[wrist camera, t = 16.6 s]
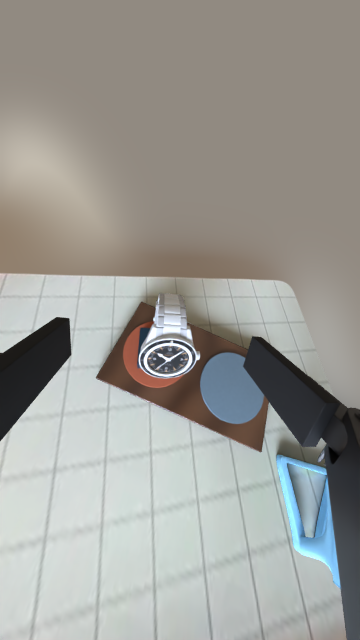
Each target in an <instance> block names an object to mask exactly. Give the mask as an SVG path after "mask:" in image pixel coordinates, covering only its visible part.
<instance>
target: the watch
mask: <svg viewBox="0 0 360 640" xmlns="http://www.w3.org/2000/svg"><path fill="white" fill-rule="evenodd" d="M153 321H154V324H153V325H152V326H151V328H140V334H139V346H138V358H137V368H141V369H143V370H144V372H146V373H147V374H149V375H151V376H154V377H158V378H174V377H178V376H181V375H183V374H185V373H186V372H188V371H189V370H190V369H192V368H193V366H194V365H195V363H196V360H199V359H200V352H199V351H196V350H195V348H194V344H193V339H192V334H191V329H190V326H187V320H186V307H185V302H184V298H183V297H182V296H181V295H176V294H166V293H159V298H158V300H157V301H156V310H155V317H154V318H153Z"/></svg>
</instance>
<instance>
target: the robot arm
mask: <svg viewBox="0 0 360 640" xmlns="http://www.w3.org/2000/svg"><path fill="white" fill-rule="evenodd" d="M70 356H71V341H70V321H69V318H60V317H56V318H55V319H53V320H52V321H50V322H49V323H47V324H46V325H44V326H43V327H41V328H40V329H38V330H37V331H35V332H34V333H32V334H31V335H29V336H28V337H26V338H25V339H23V340H22V341H20V342H19V343H17V344H16V345H14V346H13V347H11V348H10V349H8V350H7V351H5V352H4V353H0V441H1V440H2V439H3V437H4V436H5V435H6V434H7V432H8V431H9V430H10V429H11V428H12V426H13V425H14V424H15V423H16V422H17V420H18V419H19V418H20V417H21V415H22V414H23V413H24V412H25V411H26V409H27V408H28V407H29V406H30V404H31V403H32V402H33V401H34V400H35V398H36V397H37V396H38V395H39V393H40V392H41V391H42V390H43V389H44V387H45V386H46V385H47V384H48V382H49V381H50V380H51V379H52V378H53V376H54V375H55V374H56V373H57V371H58V370H59V369H60V368H61V367H62V365H63V364H64V363H65V362H66V361H67V359H68V358H69V357H70ZM243 367H244V369H245V370H246V371H247V373H248V374H249V375H250V377H251V378H252V379H253V381H254V382H255V384H256V385H257V386H258V388H259V389H260V390H261V392H262V393H263V394H264V396H265V397H266V398H267V400H268V401H269V402H270V404H271V405H272V407H273V408H274V409H275V411H276V412H277V413H278V415H279V416H280V417H281V419H282V420H283V421H284V423H285V424H286V425H287V427H288V428H289V430H290V431H291V432H292V434H293V435H294V436H295V438H296V439H297V440H298V442H299V443H300V444H301V446H302V447H316V445H317V444H318V442H319V440H320V438H322V439H323V440H324V441H325V442H326V443H327V444H326V446H325V447H324V449H323V451H322V452H321V454H320V456H319V457H318V460H317V461H318V462H321V460H322V459H325V464H324V465H325V466H326V472H327V481H328V489H329V497H330V505H331V513H332V522H333V530H334V538H335V546H336V554H337V563H338V571H339V579H340V587H341V596H342V604H343V612H344V620H345V628H346V637H347V640H360V410H359V409H356V408H347V407H346V406H344V405H343V404H342V403H341V402H340V401H339V400H337V399H336V398H335V397H334V396H332V395H331V394H330V393H329V392H328V391H326V390H324V388H323V387H322V386H320V385H318V383H317V382H316V381H314V380H313V379H312V378H311V377H309V376H307V375H306V374H305V373H304V372H303V371H301V370H300V369H299V368H298V367H297V366H295V365H294V364H293V363H292V362H291V361H289V360H288V359H287V358H286V357H285V356H283V355H282V354H281V353H280V352H279V351H277V350H276V349H275V348H274V347H273V346H271V345H270V344H269V343H268V342H267V341H265V340H264V339H263V338H262V337H254V336H252V340H251V343H250V346H249V349H248V352H247V355H246V358H245V361H244V364H243Z"/></svg>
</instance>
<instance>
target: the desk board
mask: <svg viewBox="0 0 360 640" xmlns="http://www.w3.org/2000/svg"><path fill="white" fill-rule="evenodd" d="M155 310H156V308H154V307H152V306H150V305H148V304H146V303H143V302H141V303H140V305H139V307H138V308H137V310H136V312H135V313H134V315H133V317H132V318H131V320H130V322H129V323H128V325H127V327H126V328H125V330H124V332H123V333H122V335H121V337H120V338H119V340H118V342H117V343H116V345H115V347H114V348H113V350H112V352H111V353H110V355H109V357H108V358H107V360H106V362H105V363H104V365H103V367H102V368H101V370H100V372H99V373H98V375H97V377H96V379H98V380H101V381H103V382H105V383H107V384H109V385H112V386H114V387H116V388H118V389H121V390H123V391H125V392H127V393H129V394H132V395H134V396H136V397H138V398H141V399H143V400H145V401H147V402H149V403H152V404H154V405H156V406H158V407H161V408H163V409H165V410H167V411H169V412H172V413H174V414H176V415H178V416H181V417H183V418H185V419H187V420H189V421H192V422H194V423H196V424H198V425H201V426H203V427H205V428H207V429H210V430H212V431H214V432H216V433H218V434H221V435H223V436H225V437H227V438H230V439H232V440H234V441H236V442H238V443H241V444H243V445H245V446H247V447H250V448H252V449H254V450H256V451H259V452H262V445H263V438H264V431H265V424H266V418H267V411H268V404H269V401H268V400H267V398H266V397H265V396H264V399H263V404H262V406H261V409H260V411H259V412H258V413H257V415H256V416H255V417H254V418H253V419H251V420H250V421H248V422H245V423H241V424H233V423H228V422H225V421H223V420H221V419H219V418H218V417H216V416H215V415H214V414H213V413H212V412H211V411H210V410H209V408H208V407H207V405H206V404H205V402H204V400H203V397H202V393H201V388H200V379H201V374H202V371H203V368H204V366H205V365H206V363H207V362H208V361H209V360H210V359H211V358H212V357H214V356H216V355H218V354H220V353H227V352H229V353H235V354H238V355H241V356H243V357H245V358H246V355H247V352H248V350H247V349H245V348H243V347H241V346H239V345H236V344H234V343H232V342H230V341H227V340H225V339H223V338H221V337H219V336H216V335H214V334H212V333H210V332H208V331H205V330H203V329H201V328H199V327H196V326H194V325H192V324H190V323H188V322H187V326H190V329H191V334H192V339H193V344H194V348H195V350H196V351H199V352H200V359H199V360H196V363H195V365H194V366H193V368H192V369H190V370H189V371H188V372H186V373H185V374H184V375H183V376H182V377H181V378H180V379H179V380H178V381H176V382H175V383H173V384H171V385H168V386H165V387H158V388H156V387H149V386H145V385H143V384H141V383H139V382H138V381H136V380H135V379H134V378H133V377H132V376H131V375H130V374H129V372H128V370H127V369H126V366H125V363H124V359H123V350H124V345H125V342H126V340H127V338H128V337H129V335H130V334H131V333H132V331H133V330H135V329H136V328H137V327H139V326H140V325H142V324H144V323H147V322H151V321H153V318H154V317H155Z"/></svg>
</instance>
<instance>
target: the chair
mask: <svg viewBox="0 0 360 640" xmlns="http://www.w3.org/2000/svg"><path fill="white" fill-rule="evenodd" d="M287 463H290V464H293V465H297V466H300V467H303V468H306V469H309V470H313V471H316V472H319V473H322V474H325V475H327V472H326V468H324V467H320V466H317V465H313V464H310V463H307V462H303V461H300V460H296V459H293V458H289V457H286V456H283V455H277V466H278V471H279V476H280V481H281V485H282V489H283V494H284V498H285V502H286V507H287V511H288V516H289V521H290V526H291V531H292V538H293V544H294V548H295V549H296V550H297V551H298V552H300V553H301V554H302V555H304V556H308V557H312V558H315V559H318V560H321V561H322V562H324V563H325V564H327V565H328V567H329V568H330V570H331V572H332V574H333V582H334V583H335V584H336V585H337V586H338V587H339V588H340V589H341V587H340V579H339V571H338V563H337V554H336V546H335V538H334V530H333V522H332V513H331V505H330V497H329V489H328V481H327V478H326V483H325V488H324V493H323V497H322V502H321V506H320V511H319V516H318V521H317V526H316V532H315V538H308V537H305V532H304V528H303V524H302V520H301V516H300V512H299V509H298V505H297V501H296V498H295V494H294V490H293V487H292V483H291V480H290V476H289V472H288V468H287Z"/></svg>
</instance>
